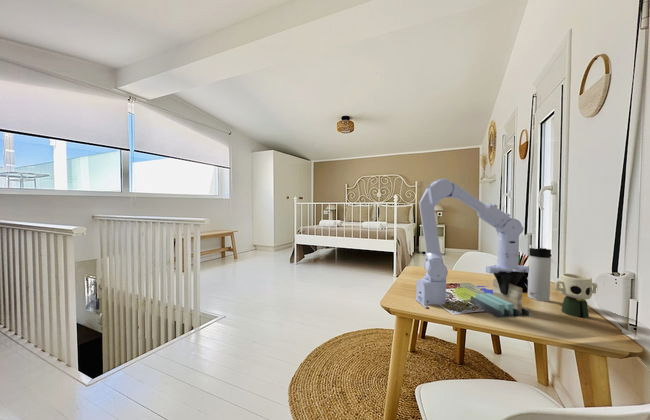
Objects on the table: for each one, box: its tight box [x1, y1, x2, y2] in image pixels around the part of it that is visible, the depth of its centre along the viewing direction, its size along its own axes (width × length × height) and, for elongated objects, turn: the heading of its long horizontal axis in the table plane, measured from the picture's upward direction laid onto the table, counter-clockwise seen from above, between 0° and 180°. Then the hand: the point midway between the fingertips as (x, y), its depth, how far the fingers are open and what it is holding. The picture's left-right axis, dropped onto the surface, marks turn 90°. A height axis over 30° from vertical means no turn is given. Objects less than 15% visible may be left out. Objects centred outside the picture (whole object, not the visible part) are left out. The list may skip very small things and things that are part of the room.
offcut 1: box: [475, 293, 505, 314], centre depth 85 cm, size 2×10×3 cm, turn 8°
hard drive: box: [476, 285, 493, 295], centre depth 102 cm, size 2×8×12 cm
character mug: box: [554, 272, 598, 319], centre depth 81 cm, size 11×7×13 cm, turn 75°
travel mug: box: [527, 247, 552, 303], centre depth 94 cm, size 6×7×20 cm
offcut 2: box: [483, 292, 514, 314], centre depth 86 cm, size 2×10×3 cm, turn 7°
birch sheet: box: [492, 278, 523, 313], centre depth 86 cm, size 2×10×8 cm, turn 8°
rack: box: [465, 296, 535, 319], centre depth 86 cm, size 13×14×2 cm
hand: (506, 293), depth 86 cm, fingers closed on birch sheet, 2 cm apart
